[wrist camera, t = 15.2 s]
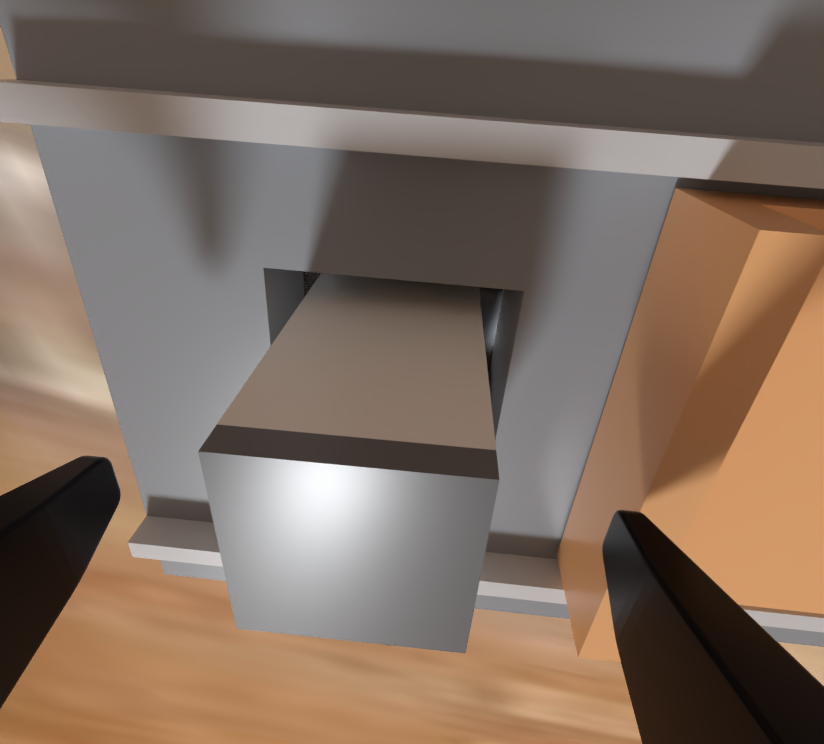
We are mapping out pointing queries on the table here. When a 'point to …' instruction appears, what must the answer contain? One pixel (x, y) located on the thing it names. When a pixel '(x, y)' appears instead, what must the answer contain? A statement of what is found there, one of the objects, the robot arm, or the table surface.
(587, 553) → the shutter
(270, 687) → the table surface
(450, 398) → the plug
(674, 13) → the socket plate
